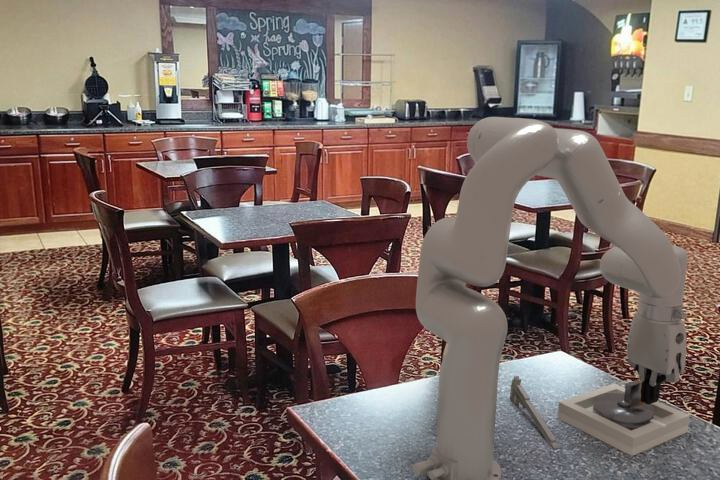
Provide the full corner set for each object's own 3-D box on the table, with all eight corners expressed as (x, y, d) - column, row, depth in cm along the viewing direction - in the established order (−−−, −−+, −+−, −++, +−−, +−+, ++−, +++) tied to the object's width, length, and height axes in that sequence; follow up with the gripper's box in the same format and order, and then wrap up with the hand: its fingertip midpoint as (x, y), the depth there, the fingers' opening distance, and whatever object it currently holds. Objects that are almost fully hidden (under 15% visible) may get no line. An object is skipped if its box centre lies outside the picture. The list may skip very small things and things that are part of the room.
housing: (633, 457, 123) (636, 437, 122) (557, 418, 137) (559, 400, 136) (690, 432, 132) (693, 413, 132) (613, 398, 147) (615, 381, 146)
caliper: (509, 401, 145) (511, 373, 144) (514, 400, 145) (516, 372, 144) (553, 450, 126) (556, 418, 124) (559, 449, 126) (561, 418, 124)
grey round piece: (628, 436, 127) (631, 402, 126) (580, 412, 136) (583, 381, 135) (666, 421, 133) (669, 389, 132) (618, 399, 142) (621, 369, 141)
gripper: (708, 319, 125) (696, 413, 129) (639, 297, 138) (630, 383, 142) (682, 325, 121) (670, 422, 125) (613, 302, 134) (604, 391, 138)
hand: (649, 401), depth 133 cm, fingers closed
